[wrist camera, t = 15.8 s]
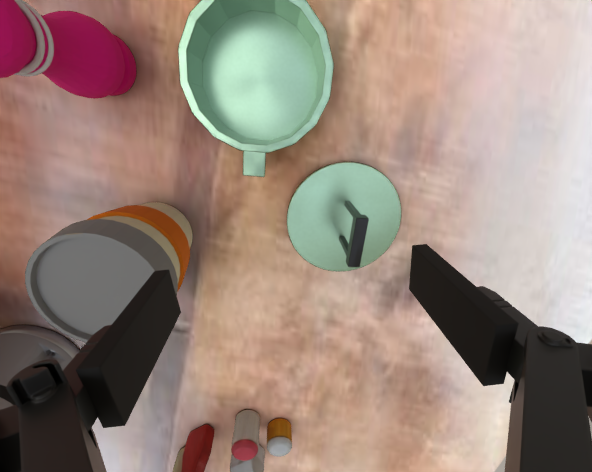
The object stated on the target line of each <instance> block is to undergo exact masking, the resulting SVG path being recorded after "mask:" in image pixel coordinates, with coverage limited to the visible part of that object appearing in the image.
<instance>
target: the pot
mask: <svg viewBox="0 0 592 472" xmlns="http://www.w3.org/2000/svg"><path fill="white" fill-rule="evenodd" d="M178 47H179V48H178V57H179V76H180V84H181V87H182V89H183V92H184V94H185V96H186V99H187V101H188V104H189V106H190V108H191V111H192V113H193V114H194V116H195V117H196V118H197V119H198V120H199V121H200V122H201V123H202V124H203V126H204V127H205V128H206V129H207V130H208V131H209V132H210V133H211V134H212V135H213V137H215V138H217V139H219V140H220V141H222V142H224V143H226V144H228V145H230V146H232V147H234V148H236V149H238V150H241V151H243V175H245V176H257V177H265V166H266V153H270V152H273V151H276V150H279V149H282V148H285V147H288V146H291V145H294V144H295V143H296V142H297V141H299V140H300V139H301V138H302V137H303V136H304V135H305V134H307V133H308V132H309V131H310V130H311V129H312V128H313V127H314V126H315V125H316V124H317V122H318V120H319V118H320V116H321V114H322V112H323V110H324V108H325V106H326V104H327V103H328V101H329V99H330V93H331V84H332V76H333V68H334V63H333V59H332V54H331V50H330V46H329V41H328V37H327V33H326V29H325V28H324V26H323V25H322V23H321V22H320V20H319V19H318V17H317V16H316V14H315V13H314V11H313V10H312V8H311V7H310V5H309V4H308V2H307V1H306V0H201V1H200V2H199V3H198V4H197V5H196V7H195V8H194V9H193V10H192V11H191V12H190V13H189V16H188V19H187V22H186V25H185V28H184V31H183V34H182V37H181V40H180V43H179V46H178Z"/></svg>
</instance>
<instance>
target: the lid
mask: <svg viewBox="0 0 592 472" xmlns="http://www.w3.org/2000/svg"><path fill="white" fill-rule="evenodd" d="M400 220H401V205H400V200H399V196H398V194H397V192H396V189H395V188H394V186H393V184H392V183H391V182H390V181H389V179H388V178H387V177H386V176H384V175H383V174H382V173H381V172H379V171H378V170H376V169H375V168H372V167H370V166H368V165H365V164H362V163H356V162H339V163H334V164H330V165H327V166H324V167H322V168H320V169H318V170H316V171H315V172H313V173H312V174H310V175H309V176H308V177H307V178H306V179H305V180H304V181H303V182H302V183H301V184H300V185H299V186H298V188H297V189H296V191H295V192H294V194H293V196H292V198H291V201H290V204H289V207H288V212H287V229H288V234H289V237H290V240H291V242H292V244H293V246H294V248H295V249H296V251H297V252H298V253H299V254H300V255H301V256H302V257H303V258H304V259H305V260H306V261H308V262H309V263H311V264H312V265H314V266H316V267H319V268H322V269H325V270H329V271H350V270H355V269H358V268H361V267H364V266H366V265H368V264H370V263H371V262H373V261H375V260H376V259H377V258H379V257H380V256H381V255H382V254H383V253H384V252H385V251H386V250H387V249H388V248H389V246H390V245H391V244H392V242H393V240H394V239H395V237H396V234H397V232H398V229H399V226H400Z"/></svg>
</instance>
